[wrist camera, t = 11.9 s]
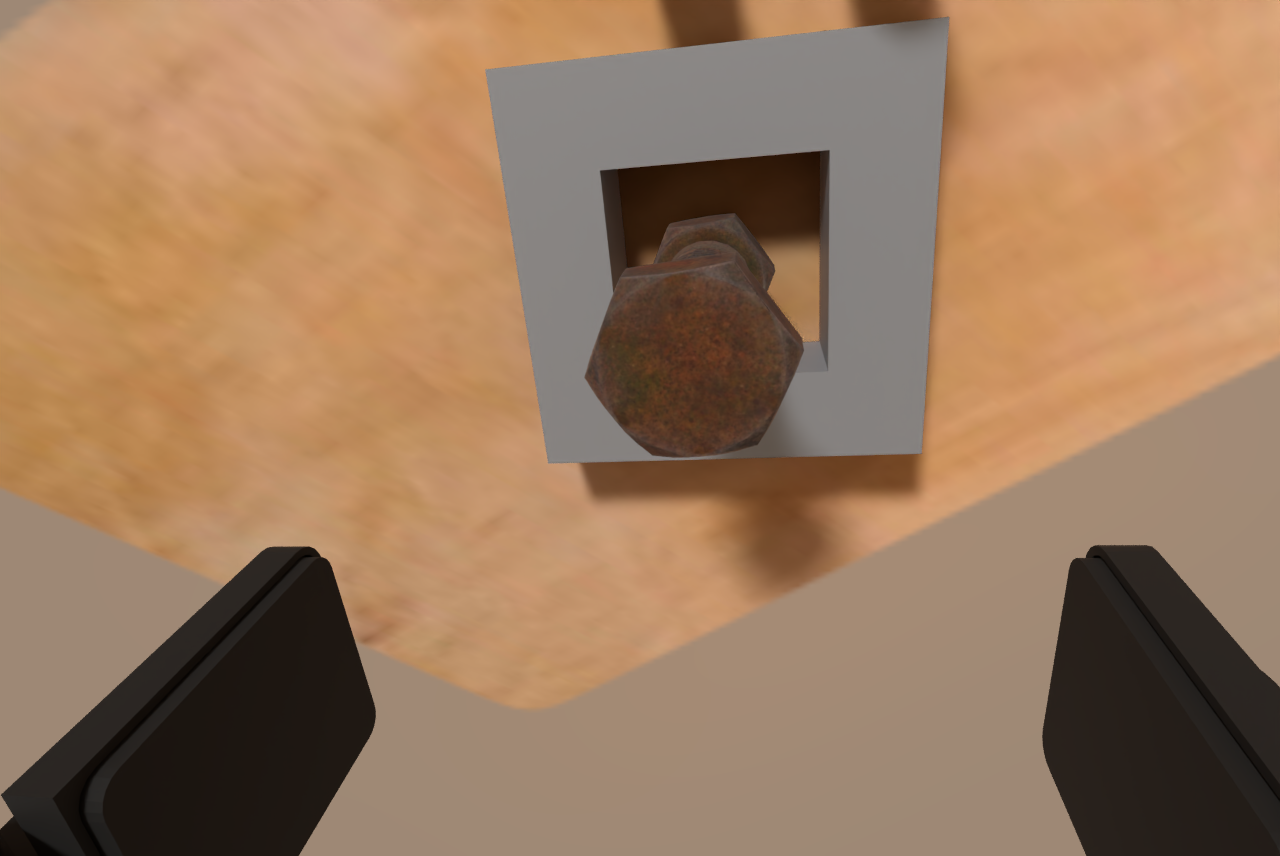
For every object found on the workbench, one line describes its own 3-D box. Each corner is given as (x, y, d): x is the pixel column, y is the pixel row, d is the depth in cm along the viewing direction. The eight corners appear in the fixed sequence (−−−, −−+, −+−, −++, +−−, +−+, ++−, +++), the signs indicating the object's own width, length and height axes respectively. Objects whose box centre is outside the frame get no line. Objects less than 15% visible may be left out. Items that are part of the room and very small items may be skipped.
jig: (923, 26, 28) (949, 16, 25) (903, 415, 34) (921, 453, 31) (516, 72, 31) (485, 69, 27) (567, 426, 37) (548, 463, 33)
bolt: (658, 318, 34) (599, 467, 21) (639, 206, 32) (560, 289, 19) (786, 301, 33) (813, 446, 19) (775, 183, 31) (796, 254, 18)
